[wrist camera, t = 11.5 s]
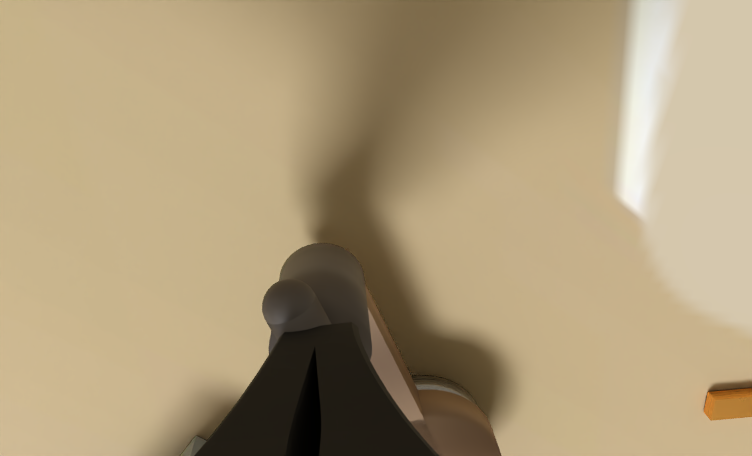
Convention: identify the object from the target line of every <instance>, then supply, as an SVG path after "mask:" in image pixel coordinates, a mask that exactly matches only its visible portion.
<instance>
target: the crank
mask: <svg viewBox="0 0 752 456" xmlns="http://www.w3.org/2000/svg"><path fill="white" fill-rule="evenodd" d="M262 311H263V315H264V318H265V320H266V322H267V324H268V325H269V327H270V329H271V336H270V343H269V354H270V353H271V351H272V349H273V348H274V346H275V344H276V343H277V341H278V339H279V337H280V336H281V335H282V334H283V333H284V332H295V331H302V330H307V329H311V328H314V327H318V326H321V325H330V324H339V323H348V322H352V323H354V324H355V325H356V326H358V328H359V334H360V338H361V341H362V344H363V346H364V349H365V351H366V353H367V355H368V357H369V359H370V361H371V363H372V365H373V367H374V369H375V370H376V372H377V374H378V375H379V377H380V379H381V380H382V382H383V384H384V385H385V387H386V389H387V390H388V392H389V393H390V395H391V396H392V398H393V399H394V401H395V402H396V404H397V405H398V406H399V408H400V409H401V410H402V412H403V413H404V414H405V416H406V417H407V419H408V420H409V421H410V422H411V424H412V425H413V426H414V427H415V429H416V430H417V431H418V432H419V433H420V435H421V436H422V437H423V438H424V439H425V440H426V442H427V443H428V444H429V445H430V446H431V447H432V448H433V449H434V450H435V452H436V453H437V454H438V455H439V456H501V453H500V450H499V447H498V444H497V442H496V439H495V436H494V433H493V430H492V427H491V424H490V422H489V420H488V418H487V417H486V415H485V414H484V413H483V412H482V410H481V409H480V408H479V407H477V406H476V405H475V404H474V403H472V402H471V401H470V400H468V399H466V398H464V397H462V396H460V395H457V394H454V393H451V392H447V391H442V390H418V389H417V387H416V385H415V383H414V381H413V379H412V377H411V375H410V373H409V371H408V369H407V367H406V365H405V363H404V361H403V359H402V357H401V355H400V353H399V351H398V349H397V347H396V345H395V343H394V341H393V339H392V337H391V335H390V333H389V331H388V329H387V327H386V325H385V323H384V321H383V319H382V317H381V315H380V312H379V310H378V308H377V306H376V304H375V302H374V300H373V298H372V296H371V294H370V292H369V290H368V288H367V286H366V284H365V279H364V273H363V269H362V267H361V265H360V263H359V261H358V260H357V259H356V257H355V256H354V255H352V254H351V253H350V252H349V250H348V249H344V248H342V247H339V246H337V245H333V244H327V243H317V244H311V245H308V246H305V247H302V248H300V249H298V250H297V251H295V252H294V253H293V254H292V255H291V256H290V257H289V258H288V259H287V260H286V262H285V263H284V265H283V267H282V269H281V273H280V278H279V281H278V282H276V283H275V284H273V285H272V286H271V287H270V288H269V289H268V291H267V292H266V294H265V296H264V299H263V303H262Z"/></svg>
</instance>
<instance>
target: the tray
mask: <svg viewBox="0 0 752 456" xmlns="http://www.w3.org/2000/svg"><path fill="white" fill-rule="evenodd" d="M205 442H206V440H204V439H202V438H200V437H198V436H195V438H194V439H193V440H192V441H191V443H190V444H189V445H188V446H187V448H186V449H185V450H184V451H183V453H182V454H181V455H180V456H194V455H195V454H196V453H197V452H198V450H199V449H200V448H201V447H202V446H203V445H204V444H205Z"/></svg>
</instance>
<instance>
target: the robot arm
mask: <svg viewBox="0 0 752 456" xmlns="http://www.w3.org/2000/svg"><path fill="white" fill-rule="evenodd" d="M194 456H439V455H438V454H437V453H436V452H435V450H434V449H433V448H432V447H431V446H430V445H429V444H428V443H427V442H426V440H425V439H424V438H423V437H422V436H421V435H420V433H419V432H418V431H417V430H416V429H415V427H414V426H413V425H412V424H411V422H410V421H409V420H408V419H407V417H406V416H405V414H404V413H403V412H402V410H401V409H400V408H399V406H398V405H397V404H396V402H395V401H394V399H393V398H392V396H391V395H390V393H389V392H388V390H387V389H386V387H385V385H384V384H383V382H382V380H381V379H380V377H379V375H378V374H377V372H376V370H375V369H374V367H373V365H372V363H371V361H370V359H369V357H368V355H367V353H366V351H365V349H364V346H363V344H362V341H361V338H360V334H359V328H358V326H356V325H355V324H354V323H352V322H348V323H339V324H330V325H321V326H318V327H314V328H311V329H307V330H302V331H295V332H284V333H283V334H282V335H281V336H280V337H279V339H278V341H277V343H276V344H275V346H274V348H273V349H272V351H271V353H270V354H269V356H268V357H267V359H266V361H265V362H264V364H263V365H262V367H261V368H260V370H259V372H258V373H257V375H256V376H255V378H254V379H253V380H252V382H251V383H250V385H249V386H248V388H247V389H246V390H245V392H244V393H243V395H242V396H241V398H240V399H239V401H238V402H237V403H236V405H235V406H234V407H233V409H232V410H231V411H230V412H229V414H228V415H227V416H226V417H225V419H224V420H223V421H222V423H221V424H220V425H219V426H218V428H217V429H216V430H215V431H214V433H213V434H212V435H211V436H210V438H209V439H208V440H207V441H206V442H205V444H204V445H203V446H202V447H201V448H200V449H199V450H198V452H197V453H196V454H195V455H194Z"/></svg>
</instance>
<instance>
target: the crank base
mask: <svg viewBox="0 0 752 456" xmlns="http://www.w3.org/2000/svg"><path fill="white" fill-rule="evenodd" d="M411 377H412V379H413V381H414V383H415V385H416V387H417V389H418V390H442V391H447V392H451V393H454V394H457V395H460V396H462V397H464V398H466V399H468V400H470V401H471V402H472V403H474V404H475V405H476V403H475V401H474V399H473V398H472V397H471V395H470V394H469V393H468V392H467V391H466V390H465V389H463V388H462V387H461V386H459V385H457V384H456V383H454V382H452V381H449V380H446V379H443V378H440V377H434V376H411ZM476 406H477V405H476ZM704 413H705V414H706V415H707V416H708V418H709V419H710V420H721V419H732V418H743V417H752V388H747V389H736V390H724V391H713V392H708V394H707V399H706V403H705V408H704Z"/></svg>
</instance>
